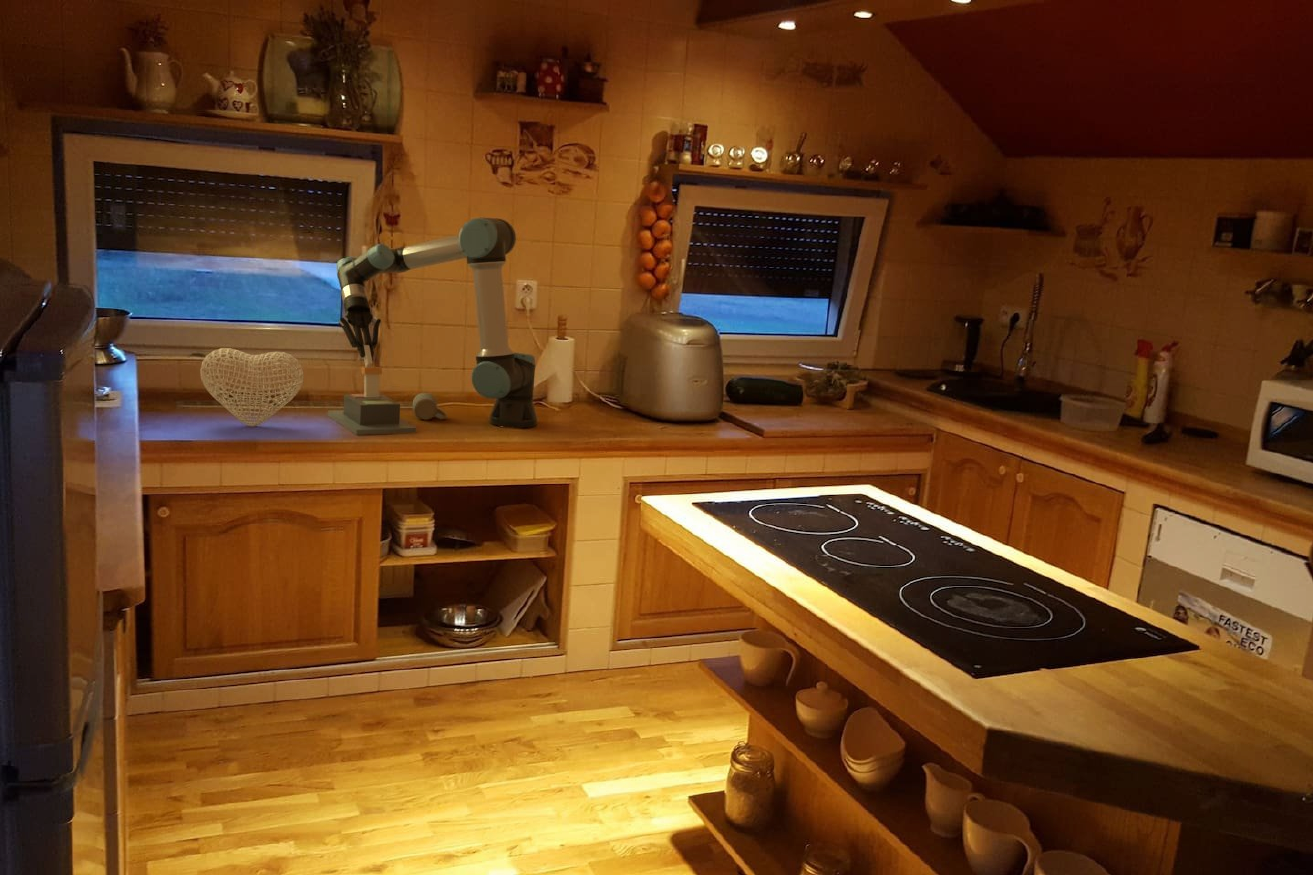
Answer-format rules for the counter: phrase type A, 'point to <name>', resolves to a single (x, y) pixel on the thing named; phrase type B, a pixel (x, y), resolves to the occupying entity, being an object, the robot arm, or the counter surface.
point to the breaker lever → (371, 381)
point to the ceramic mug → (427, 407)
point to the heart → (248, 356)
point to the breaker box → (371, 415)
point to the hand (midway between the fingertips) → (369, 365)
